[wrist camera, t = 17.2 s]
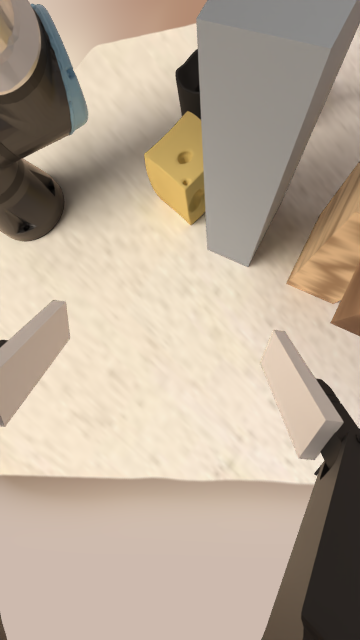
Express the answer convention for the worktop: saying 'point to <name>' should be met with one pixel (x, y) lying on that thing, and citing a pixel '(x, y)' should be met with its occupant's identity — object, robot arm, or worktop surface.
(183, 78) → the pen holder
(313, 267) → the oak block
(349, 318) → the walnut block
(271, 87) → the slate-grey stand
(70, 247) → the worktop surface
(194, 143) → the cheese
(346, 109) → the worktop surface
